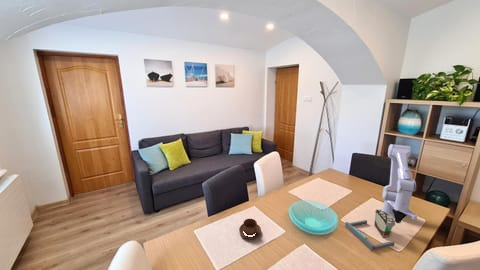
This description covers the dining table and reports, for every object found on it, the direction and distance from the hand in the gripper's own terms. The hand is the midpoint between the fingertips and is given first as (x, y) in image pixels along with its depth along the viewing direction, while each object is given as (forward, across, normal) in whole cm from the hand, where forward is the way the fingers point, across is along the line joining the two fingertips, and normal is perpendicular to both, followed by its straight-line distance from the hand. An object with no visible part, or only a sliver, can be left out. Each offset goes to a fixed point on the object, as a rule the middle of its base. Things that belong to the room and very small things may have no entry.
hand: (397, 222), depth 104 cm
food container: (+5, 0, -8) cm, 9 cm away
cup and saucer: (+6, -17, -80) cm, 82 cm away
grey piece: (+5, 0, -18) cm, 19 cm away
